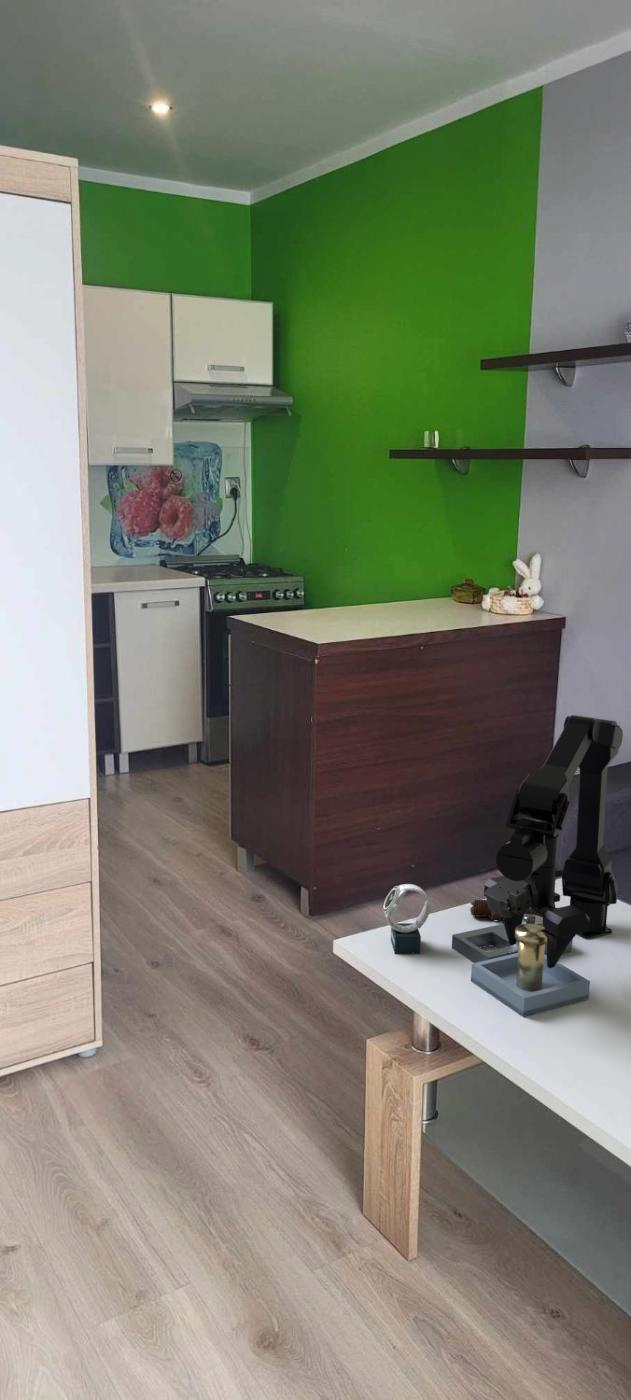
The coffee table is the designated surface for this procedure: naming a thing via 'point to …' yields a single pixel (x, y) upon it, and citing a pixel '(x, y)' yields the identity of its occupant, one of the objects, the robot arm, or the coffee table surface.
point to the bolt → (483, 909)
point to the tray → (555, 991)
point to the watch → (405, 934)
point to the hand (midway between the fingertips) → (531, 955)
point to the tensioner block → (492, 941)
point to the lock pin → (530, 956)
